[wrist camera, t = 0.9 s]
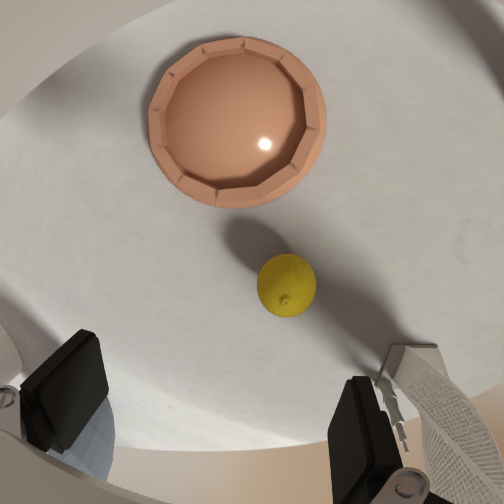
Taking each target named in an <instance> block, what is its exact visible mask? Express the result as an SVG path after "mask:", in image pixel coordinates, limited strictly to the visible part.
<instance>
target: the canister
mask: <svg viewBox="0 0 504 504" xmlns="http://www.w3.org/2000/svg"><path fill="white" fill-rule="evenodd" d="M21 371H22V361H21V357H20V355H19V352H18V350H17V348H16V346H15V344H14V342H13V340H12V339H11V337H10V336H9V334H8V333H7V332H6V330H5V329H4V328H3V327H2V326H1V325H0V386H1V385H7V384H9V383H10V382H11V381H12V380H13V379H14V378H15V377H16V376H17V375H18V374H19V373H20V372H21Z"/></svg>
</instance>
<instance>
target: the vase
mask: <svg viewBox="0 0 504 504" xmlns="http://www.w3.org/2000/svg"><path fill="white" fill-rule="evenodd" d="M114 441H115V428H114V418H113V413H112V409H111V406H110V403H109V401H108V399H107V398H105V399H104V401H103V402H102V403H101V405H100V406H99V408H98V409H97V410H96V412H95V413H94V415H93V416H92V417H91V419H90V420H89V422H88V423H87V425H86V426H85V427H84V429H83V430H82V432H81V433H80V435H79V436H78V438H77V439H76V440H75V442H74V443H73V445H72V446H71V448H70V449H68V450H65V451H64V453H63V454H62V455H61V454H59V453H57V452H56V451H54V450H52V449H51V448H50V449H49V450H48V454H49V455H51V456H52V457H54V458H56V459H58V460H60V461H62V462H64V463H66V464H68V465H70V466H72V467H74V468H76V469H78V470H80V471H82V472H84V473H87V474H89V475H91V476H93V477H96V478H98V479H100V480H103V481H105V482H106V481H107V477H108V474H109V471H110V468H111V465H112V461H113V451H114Z"/></svg>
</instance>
